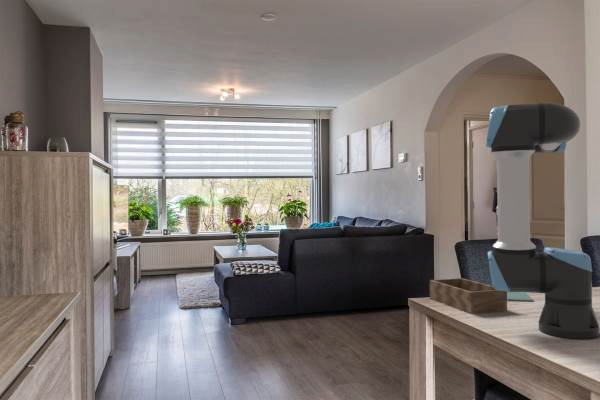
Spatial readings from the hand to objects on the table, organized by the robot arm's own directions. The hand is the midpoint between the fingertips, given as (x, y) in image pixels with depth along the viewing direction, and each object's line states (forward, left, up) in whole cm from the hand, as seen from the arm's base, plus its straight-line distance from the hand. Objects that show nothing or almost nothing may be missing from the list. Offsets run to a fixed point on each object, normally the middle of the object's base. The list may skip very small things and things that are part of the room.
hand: (508, 231), depth 184 cm
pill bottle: (0, 0, -2) cm, 2 cm away
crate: (-16, +17, -25) cm, 34 cm away
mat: (0, 0, -25) cm, 25 cm away
